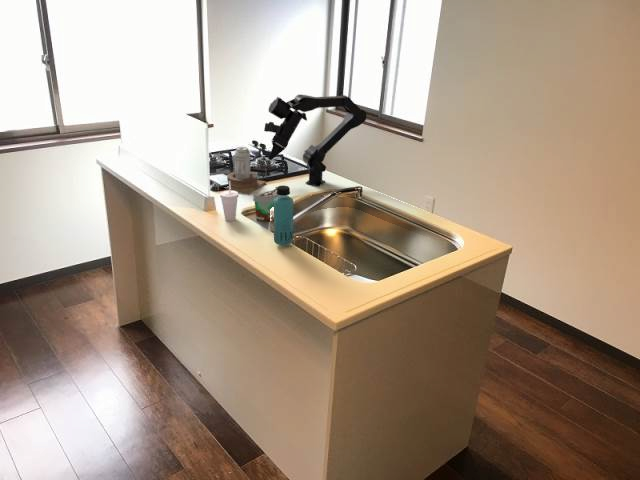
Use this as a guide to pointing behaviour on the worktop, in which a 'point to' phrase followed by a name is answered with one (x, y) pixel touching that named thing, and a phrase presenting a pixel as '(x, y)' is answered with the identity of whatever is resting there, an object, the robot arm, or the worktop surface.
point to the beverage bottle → (283, 217)
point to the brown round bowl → (244, 183)
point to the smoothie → (229, 203)
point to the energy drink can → (242, 163)
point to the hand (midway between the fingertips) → (270, 158)
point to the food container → (264, 205)
